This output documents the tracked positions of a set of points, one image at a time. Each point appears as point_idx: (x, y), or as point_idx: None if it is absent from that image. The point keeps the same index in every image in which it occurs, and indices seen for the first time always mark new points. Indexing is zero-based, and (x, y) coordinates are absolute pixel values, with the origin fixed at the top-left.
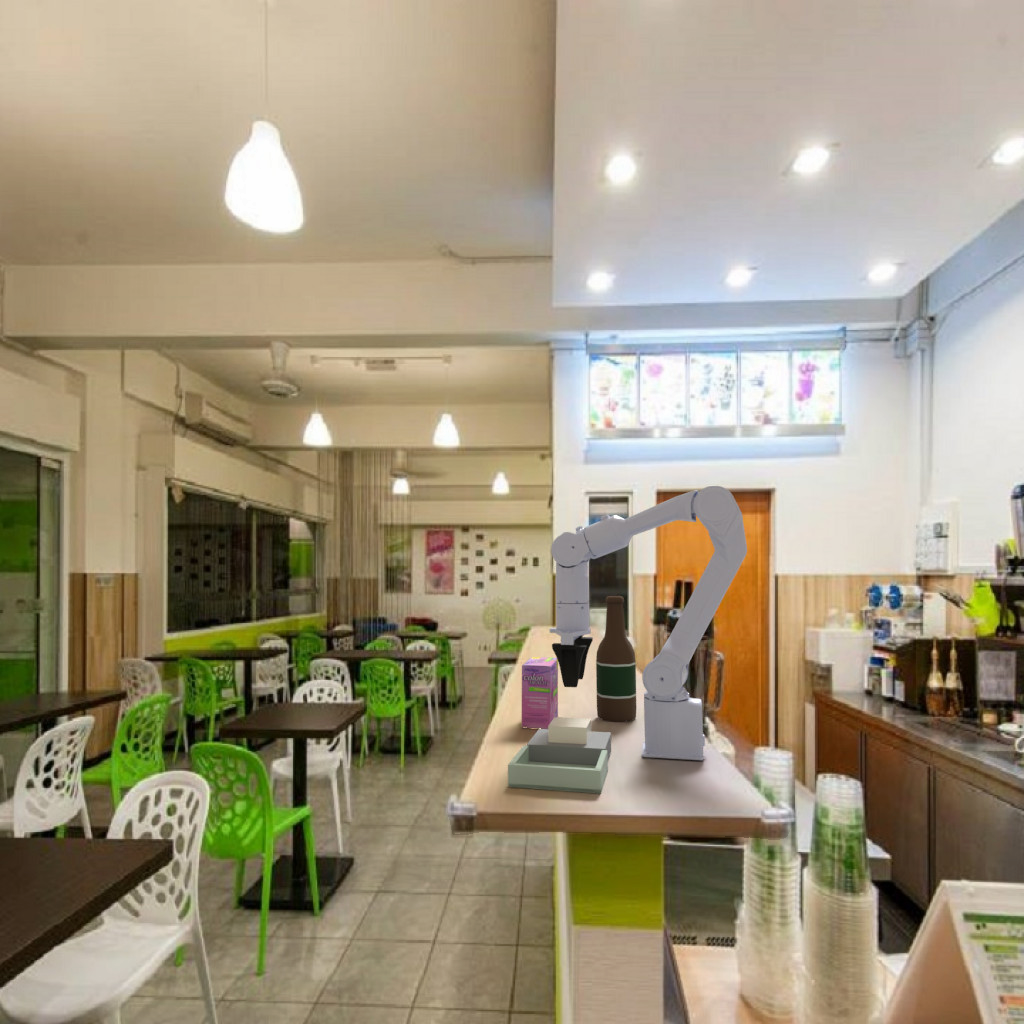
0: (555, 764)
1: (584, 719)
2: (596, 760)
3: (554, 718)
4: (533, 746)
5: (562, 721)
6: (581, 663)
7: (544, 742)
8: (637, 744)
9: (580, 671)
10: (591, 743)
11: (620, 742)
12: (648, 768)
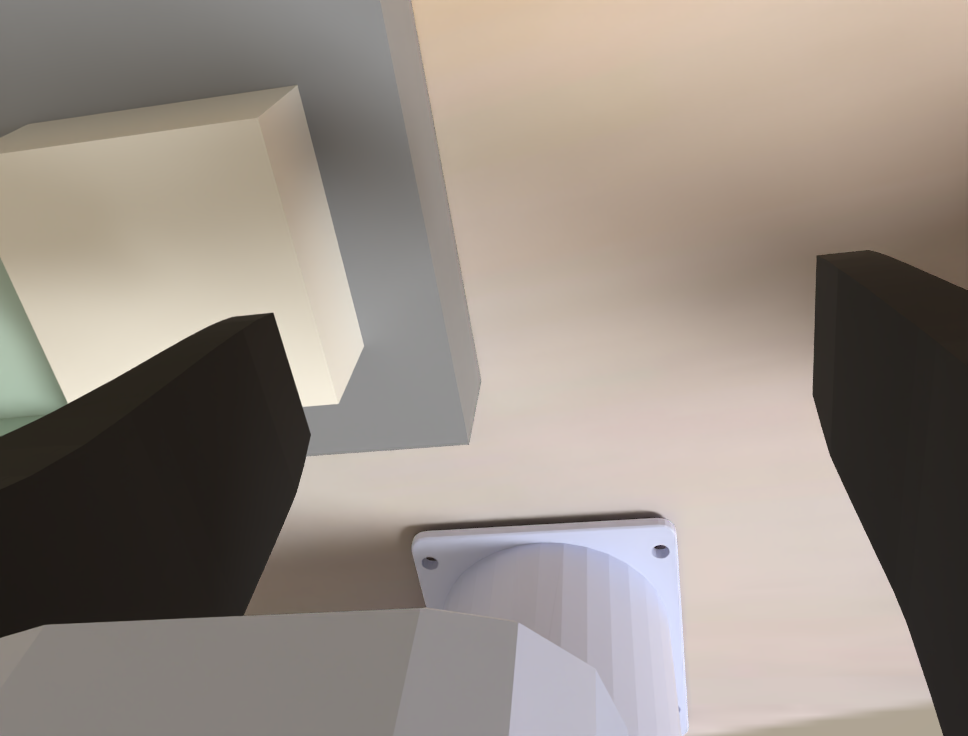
0: None
1: (296, 365)
2: None
3: (208, 132)
4: None
5: (146, 227)
6: (883, 525)
7: (3, 99)
8: (679, 482)
9: (845, 435)
10: None
11: (699, 395)
12: (269, 563)
